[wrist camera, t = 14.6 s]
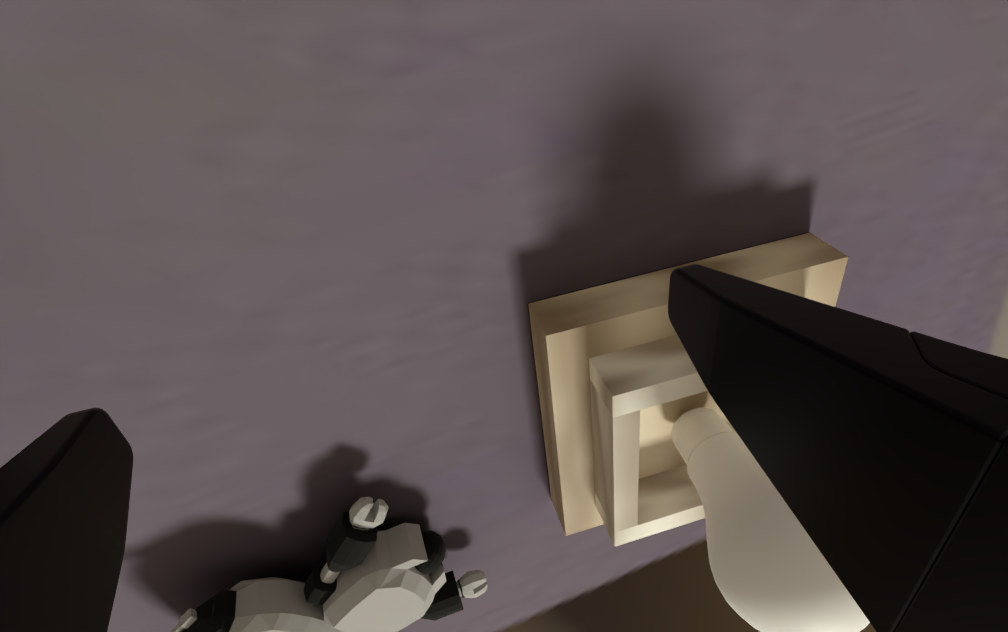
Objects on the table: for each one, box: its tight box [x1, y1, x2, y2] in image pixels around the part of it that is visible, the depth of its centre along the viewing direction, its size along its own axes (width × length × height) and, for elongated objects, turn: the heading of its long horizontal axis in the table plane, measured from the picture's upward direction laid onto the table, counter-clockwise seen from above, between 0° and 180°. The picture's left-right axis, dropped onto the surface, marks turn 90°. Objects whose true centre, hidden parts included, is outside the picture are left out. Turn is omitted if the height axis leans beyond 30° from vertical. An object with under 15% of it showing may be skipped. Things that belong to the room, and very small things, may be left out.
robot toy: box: [171, 497, 488, 632], centre depth 31 cm, size 12×4×15 cm
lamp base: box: [528, 233, 848, 547], centre depth 29 cm, size 14×14×5 cm
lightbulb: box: [671, 407, 870, 632], centre depth 24 cm, size 6×6×11 cm
